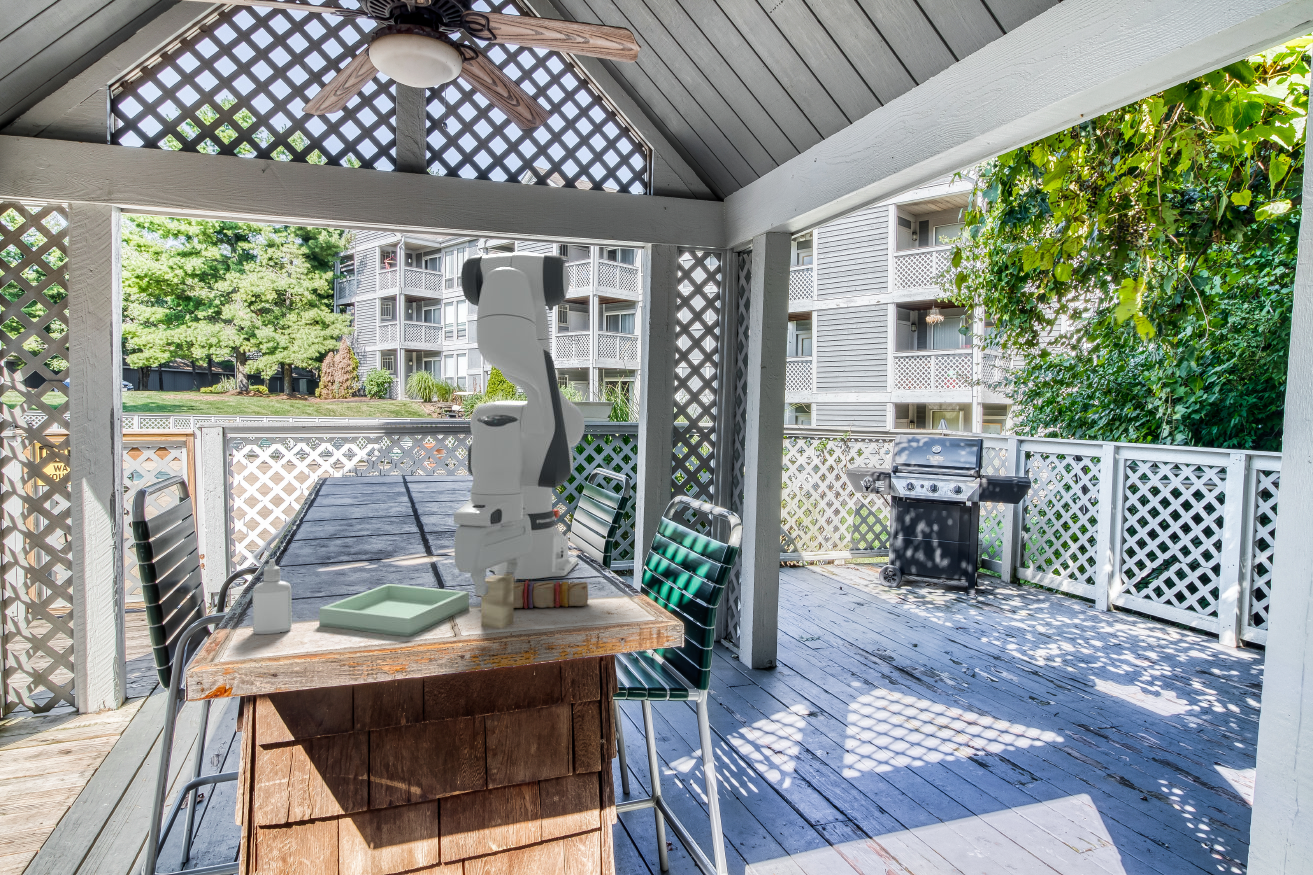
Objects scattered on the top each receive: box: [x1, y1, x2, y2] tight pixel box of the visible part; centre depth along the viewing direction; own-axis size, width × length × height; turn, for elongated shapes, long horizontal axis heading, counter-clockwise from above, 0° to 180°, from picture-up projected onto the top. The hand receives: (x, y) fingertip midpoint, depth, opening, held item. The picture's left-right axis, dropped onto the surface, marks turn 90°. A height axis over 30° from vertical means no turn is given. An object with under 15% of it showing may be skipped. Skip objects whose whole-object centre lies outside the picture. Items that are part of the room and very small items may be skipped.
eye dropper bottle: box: [252, 559, 293, 635], centre depth 120 cm, size 4×6×12 cm
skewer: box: [476, 579, 589, 609], centre depth 137 cm, size 21×6×5 cm, turn 96°
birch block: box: [480, 574, 514, 629], centre depth 126 cm, size 4×4×8 cm
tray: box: [318, 583, 470, 638], centre depth 129 cm, size 18×18×3 cm
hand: (496, 588), depth 125 cm, fingers open, 8 cm apart
